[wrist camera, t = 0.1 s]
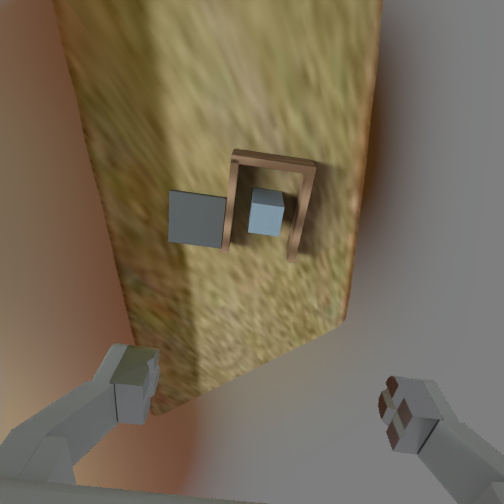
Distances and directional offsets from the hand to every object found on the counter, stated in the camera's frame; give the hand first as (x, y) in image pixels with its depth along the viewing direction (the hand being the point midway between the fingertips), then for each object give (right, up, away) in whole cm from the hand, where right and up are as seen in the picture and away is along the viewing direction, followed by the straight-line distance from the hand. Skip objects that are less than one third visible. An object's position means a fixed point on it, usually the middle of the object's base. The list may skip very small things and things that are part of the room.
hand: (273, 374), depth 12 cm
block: (+2, +13, +47) cm, 49 cm away
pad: (-11, +10, +49) cm, 51 cm away
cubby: (+1, +12, +47) cm, 49 cm away
